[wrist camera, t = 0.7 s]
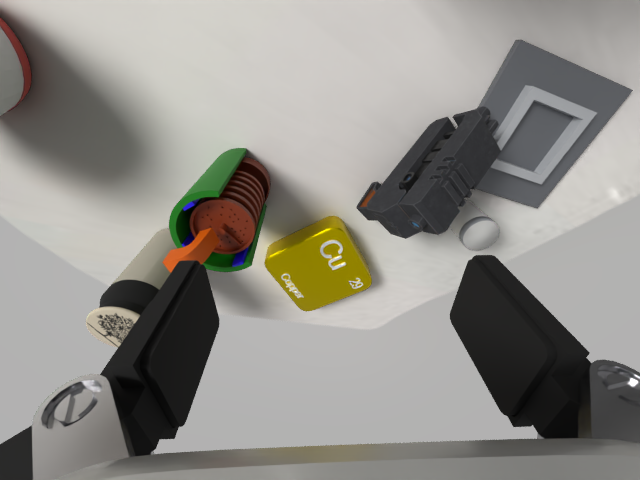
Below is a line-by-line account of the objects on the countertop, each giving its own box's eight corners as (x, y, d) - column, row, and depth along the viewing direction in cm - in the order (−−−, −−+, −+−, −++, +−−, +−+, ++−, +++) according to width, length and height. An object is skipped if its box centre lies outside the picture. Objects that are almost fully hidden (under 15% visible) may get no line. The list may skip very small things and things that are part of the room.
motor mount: (515, 40, 34) (529, 39, 32) (625, 89, 38) (644, 91, 36) (439, 175, 43) (446, 181, 41) (533, 205, 47) (543, 212, 45)
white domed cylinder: (455, 196, 46) (476, 216, 40) (482, 204, 47) (507, 225, 41) (438, 223, 48) (456, 246, 42) (464, 230, 49) (485, 254, 43)
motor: (284, 197, 45) (268, 281, 28) (237, 220, 47) (197, 311, 30) (247, 139, 40) (202, 199, 23) (197, 167, 42) (121, 241, 25)
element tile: (262, 246, 50) (258, 263, 46) (337, 210, 47) (340, 225, 43) (304, 298, 58) (303, 316, 54) (371, 271, 54) (376, 288, 50)
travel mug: (187, 222, 47) (129, 301, 32) (208, 259, 51) (166, 344, 36) (144, 232, 47) (67, 314, 32) (168, 268, 52) (110, 355, 37)
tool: (342, 205, 43) (408, 215, 29) (415, 112, 45) (509, 82, 31) (366, 229, 45) (438, 249, 32) (434, 141, 47) (529, 124, 34)
